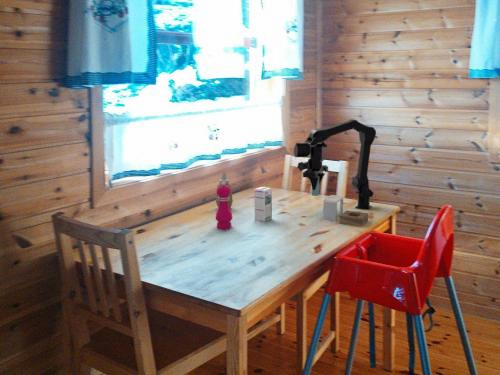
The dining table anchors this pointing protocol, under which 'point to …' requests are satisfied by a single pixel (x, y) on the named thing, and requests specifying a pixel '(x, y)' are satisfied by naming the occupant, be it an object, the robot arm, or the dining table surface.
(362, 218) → the socket
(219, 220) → the pepper mill
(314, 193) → the peg
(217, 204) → the squeeze bottle
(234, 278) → the dining table surface
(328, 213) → the small white footstool
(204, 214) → the dining table surface
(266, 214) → the syrup box
